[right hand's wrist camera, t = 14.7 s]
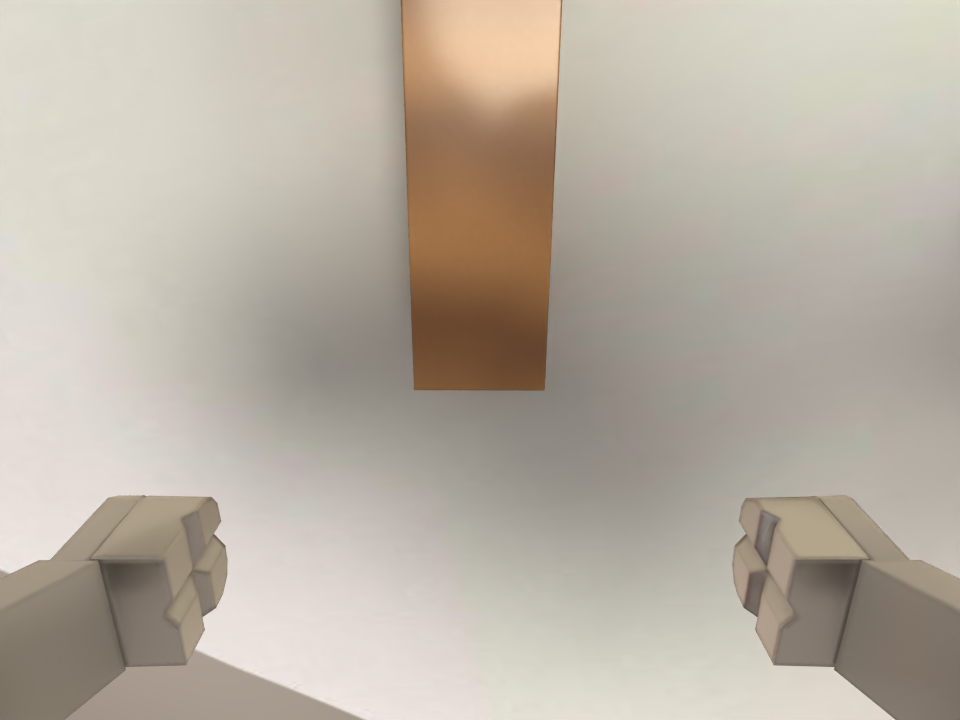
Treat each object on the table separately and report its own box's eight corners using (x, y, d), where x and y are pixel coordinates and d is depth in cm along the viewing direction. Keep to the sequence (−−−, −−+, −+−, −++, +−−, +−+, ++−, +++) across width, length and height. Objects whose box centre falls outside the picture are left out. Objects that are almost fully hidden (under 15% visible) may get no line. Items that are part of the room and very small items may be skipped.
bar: (529, 323, 33) (544, 391, 25) (428, 322, 33) (413, 390, 25) (554, -394, 23) (590, -626, 16) (411, -395, 23) (379, -629, 16)
